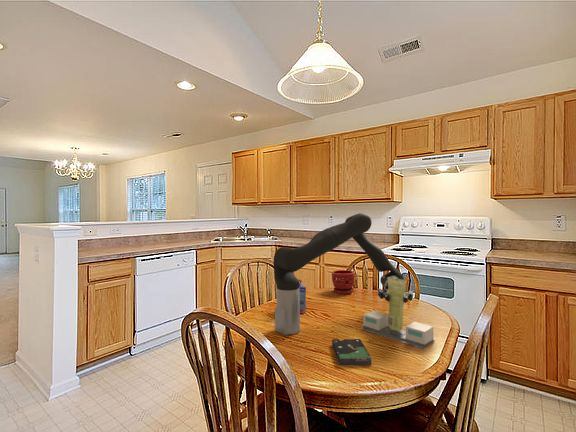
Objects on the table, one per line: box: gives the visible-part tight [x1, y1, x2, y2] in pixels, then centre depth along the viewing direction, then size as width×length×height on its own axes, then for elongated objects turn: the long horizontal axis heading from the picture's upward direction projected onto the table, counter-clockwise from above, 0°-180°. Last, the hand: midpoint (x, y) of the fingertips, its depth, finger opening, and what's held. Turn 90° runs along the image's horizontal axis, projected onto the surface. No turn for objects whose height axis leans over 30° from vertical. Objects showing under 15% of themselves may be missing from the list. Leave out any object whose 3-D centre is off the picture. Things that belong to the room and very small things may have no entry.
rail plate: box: [360, 324, 436, 350], centre depth 121 cm, size 10×25×1 cm, turn 43°
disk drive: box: [331, 338, 372, 366], centre depth 105 cm, size 10×3×15 cm
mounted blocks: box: [362, 310, 434, 345], centre depth 121 cm, size 7×25×4 cm, turn 43°
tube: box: [388, 277, 407, 331], centre depth 121 cm, size 6×5×20 cm
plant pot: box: [331, 269, 356, 295], centre depth 183 cm, size 13×13×12 cm
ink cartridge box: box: [298, 278, 307, 314], centre depth 151 cm, size 10×6×14 cm, turn 15°
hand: (396, 299), depth 119 cm, fingers closed on tube, 5 cm apart
